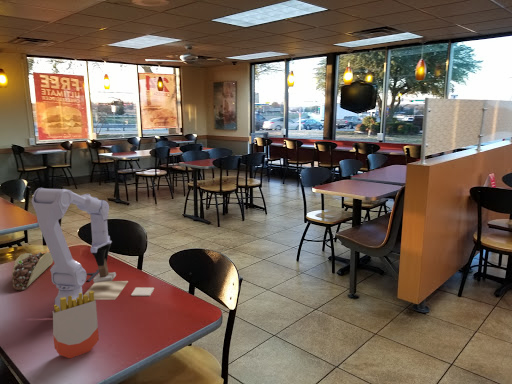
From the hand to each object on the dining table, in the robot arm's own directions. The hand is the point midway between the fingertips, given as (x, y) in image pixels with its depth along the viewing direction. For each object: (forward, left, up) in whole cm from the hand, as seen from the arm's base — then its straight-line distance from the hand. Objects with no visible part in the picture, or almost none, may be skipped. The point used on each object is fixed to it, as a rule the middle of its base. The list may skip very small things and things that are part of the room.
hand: (102, 264), depth 154 cm
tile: (-9, -17, -9) cm, 21 cm away
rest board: (-4, -2, -9) cm, 10 cm away
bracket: (+11, +14, -10) cm, 21 cm away
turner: (0, -1, -6) cm, 6 cm away
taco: (+10, +32, -10) cm, 35 cm away
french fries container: (-43, -8, -10) cm, 45 cm away
